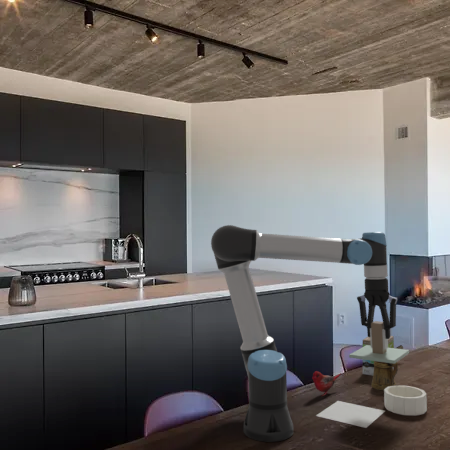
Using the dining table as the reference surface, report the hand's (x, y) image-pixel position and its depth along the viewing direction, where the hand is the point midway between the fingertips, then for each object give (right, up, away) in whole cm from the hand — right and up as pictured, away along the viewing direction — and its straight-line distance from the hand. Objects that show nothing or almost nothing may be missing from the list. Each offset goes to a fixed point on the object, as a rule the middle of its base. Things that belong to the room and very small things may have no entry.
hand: (379, 347), depth 161 cm
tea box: (+14, -22, +46) cm, 53 cm away
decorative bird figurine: (-14, -22, +18) cm, 32 cm away
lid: (0, -3, 0) cm, 3 cm away
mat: (-10, -22, -2) cm, 24 cm away
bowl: (+9, -21, +2) cm, 23 cm away
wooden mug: (+11, -22, +23) cm, 34 cm away
